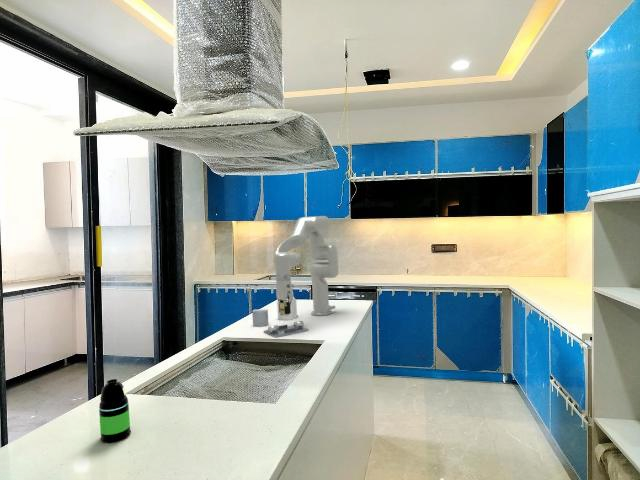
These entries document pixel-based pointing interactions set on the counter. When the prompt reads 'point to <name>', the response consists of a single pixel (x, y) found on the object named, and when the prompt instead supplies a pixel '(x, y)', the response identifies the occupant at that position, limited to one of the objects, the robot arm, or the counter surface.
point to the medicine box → (260, 317)
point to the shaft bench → (286, 329)
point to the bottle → (114, 413)
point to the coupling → (282, 309)
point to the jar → (293, 311)
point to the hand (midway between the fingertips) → (284, 312)
